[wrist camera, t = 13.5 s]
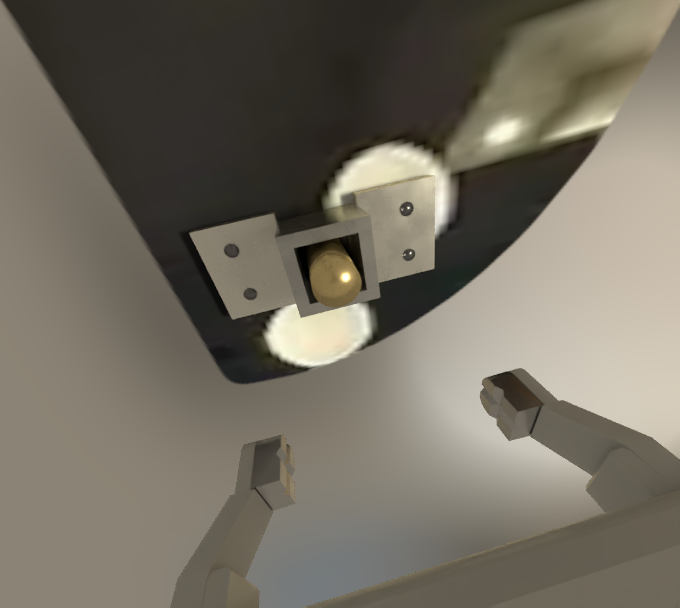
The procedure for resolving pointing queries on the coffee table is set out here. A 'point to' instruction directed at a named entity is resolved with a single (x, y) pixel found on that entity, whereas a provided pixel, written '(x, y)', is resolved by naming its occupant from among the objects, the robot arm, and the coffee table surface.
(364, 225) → the hinge
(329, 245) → the hinge pin
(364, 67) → the coffee table surface
